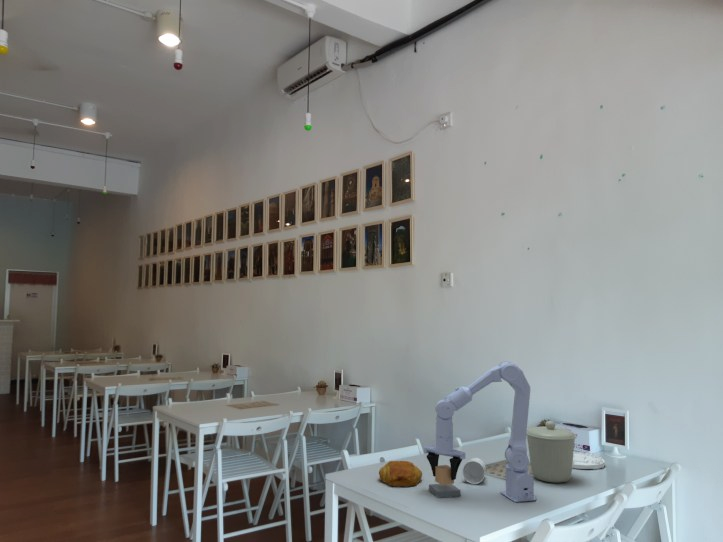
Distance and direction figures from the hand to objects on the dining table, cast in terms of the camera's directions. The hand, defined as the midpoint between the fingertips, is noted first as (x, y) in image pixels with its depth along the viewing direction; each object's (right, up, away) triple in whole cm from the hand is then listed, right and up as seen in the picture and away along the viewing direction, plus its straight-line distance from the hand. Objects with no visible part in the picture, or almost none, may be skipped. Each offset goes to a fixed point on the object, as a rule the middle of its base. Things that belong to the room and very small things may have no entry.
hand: (444, 477), depth 182 cm
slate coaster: (0, -5, 0) cm, 5 cm away
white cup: (+15, -4, +20) cm, 26 cm away
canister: (+42, -8, +18) cm, 46 cm away
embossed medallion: (+61, -10, +40) cm, 74 cm away
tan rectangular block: (0, -2, 0) cm, 2 cm away
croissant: (-14, -7, +12) cm, 20 cm away
